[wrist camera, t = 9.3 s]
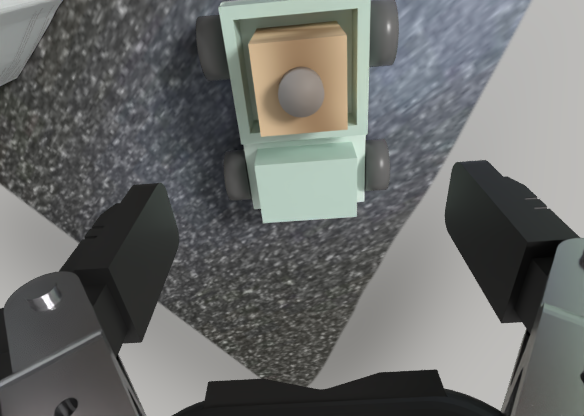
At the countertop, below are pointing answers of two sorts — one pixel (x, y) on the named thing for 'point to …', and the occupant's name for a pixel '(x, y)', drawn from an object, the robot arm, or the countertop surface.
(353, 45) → the chassis
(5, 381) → the robot arm
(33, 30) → the skincare box
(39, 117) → the countertop surface
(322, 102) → the wooden block with knob
